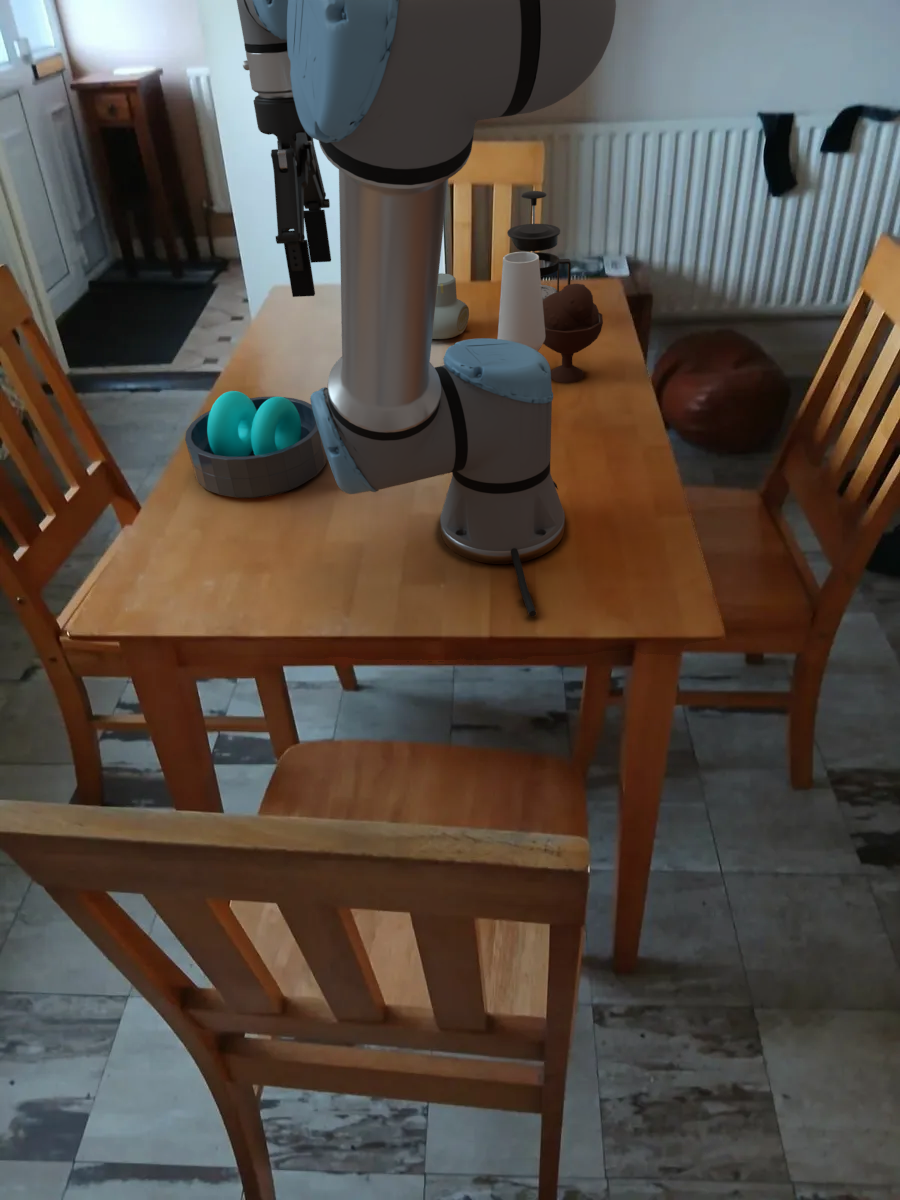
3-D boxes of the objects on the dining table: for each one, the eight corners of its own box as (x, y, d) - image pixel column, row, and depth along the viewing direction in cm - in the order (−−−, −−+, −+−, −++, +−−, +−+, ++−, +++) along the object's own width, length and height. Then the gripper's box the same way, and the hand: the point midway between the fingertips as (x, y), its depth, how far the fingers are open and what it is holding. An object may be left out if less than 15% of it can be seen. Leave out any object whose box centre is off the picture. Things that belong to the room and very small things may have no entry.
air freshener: (454, 347, 157) (451, 290, 151) (410, 344, 159) (405, 287, 153) (472, 324, 165) (470, 269, 159) (430, 321, 167) (426, 267, 161)
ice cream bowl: (598, 361, 149) (603, 270, 140) (600, 390, 140) (605, 295, 131) (534, 361, 150) (535, 271, 141) (533, 390, 142) (533, 296, 132)
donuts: (249, 441, 131) (236, 378, 125) (309, 450, 128) (298, 385, 122) (212, 474, 124) (195, 409, 118) (274, 485, 121) (261, 417, 115)
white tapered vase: (532, 407, 137) (532, 246, 122) (552, 425, 132) (555, 259, 117) (492, 417, 135) (487, 254, 120) (511, 436, 130) (508, 268, 115)
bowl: (314, 502, 119) (306, 458, 115) (178, 502, 120) (166, 460, 116) (338, 435, 133) (332, 395, 129) (217, 437, 135) (208, 397, 131)
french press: (504, 338, 159) (501, 201, 145) (503, 319, 166) (501, 186, 152) (570, 336, 158) (574, 198, 144) (566, 316, 166) (570, 183, 151)
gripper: (274, 77, 113) (301, 250, 126) (227, 113, 94) (264, 313, 107) (332, 74, 113) (353, 247, 126) (297, 109, 93) (326, 310, 106)
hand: (312, 277), depth 116 cm, fingers open, 13 cm apart
